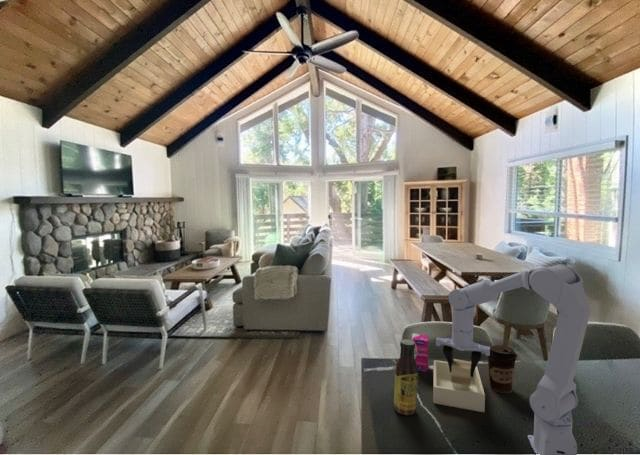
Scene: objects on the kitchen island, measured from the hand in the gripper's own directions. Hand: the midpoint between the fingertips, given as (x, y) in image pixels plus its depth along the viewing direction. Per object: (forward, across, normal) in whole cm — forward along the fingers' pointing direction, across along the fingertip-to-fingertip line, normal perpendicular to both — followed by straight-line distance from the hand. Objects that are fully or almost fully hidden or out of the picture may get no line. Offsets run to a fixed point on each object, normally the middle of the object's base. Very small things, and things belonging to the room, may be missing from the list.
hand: (461, 373), depth 97 cm
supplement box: (+8, -15, +14) cm, 22 cm away
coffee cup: (+8, +10, +12) cm, 18 cm away
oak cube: (+2, 0, 0) cm, 2 cm away
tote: (+8, -2, +4) cm, 10 cm away
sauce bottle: (+8, -13, -13) cm, 20 cm away
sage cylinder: (+8, -1, +6) cm, 10 cm away
